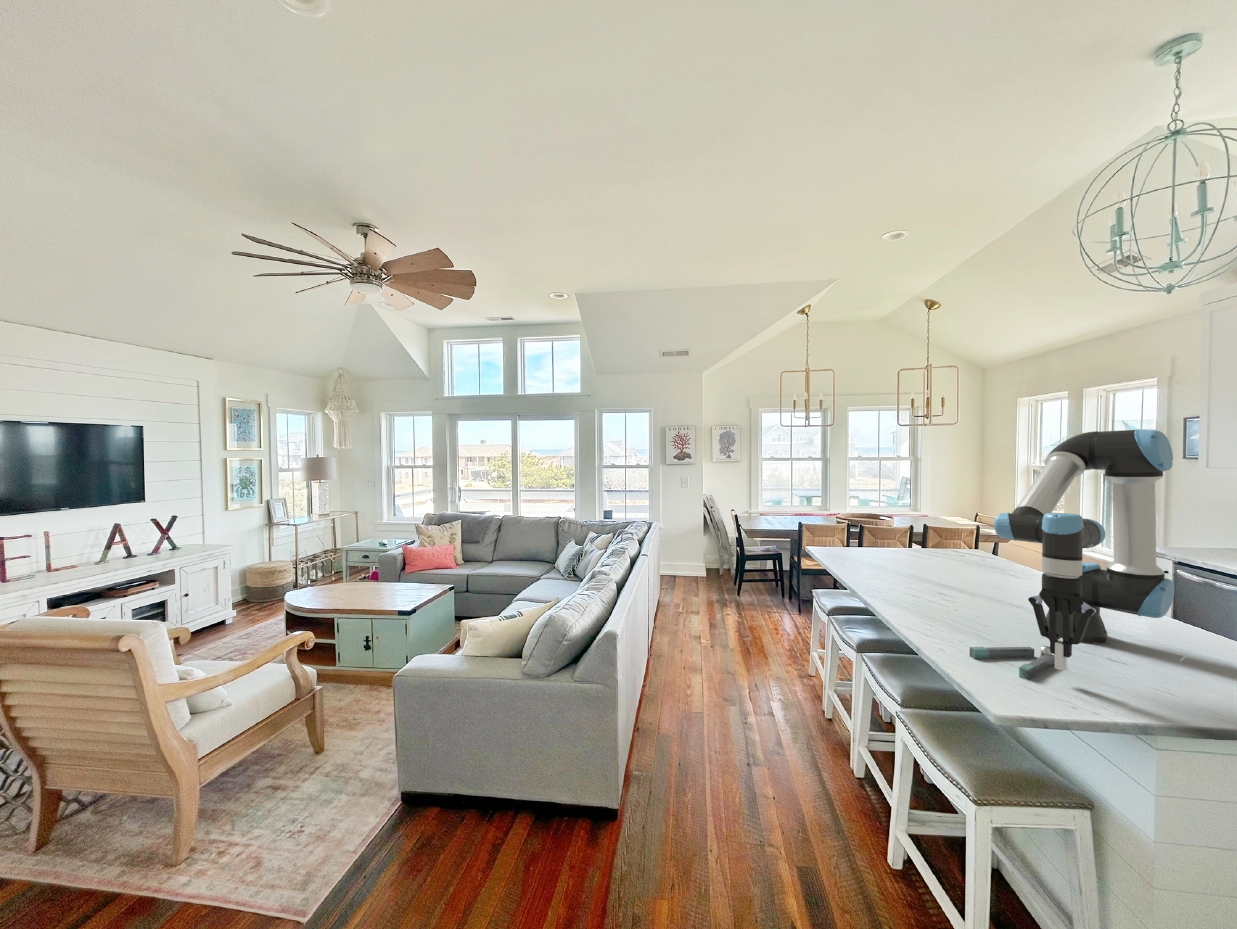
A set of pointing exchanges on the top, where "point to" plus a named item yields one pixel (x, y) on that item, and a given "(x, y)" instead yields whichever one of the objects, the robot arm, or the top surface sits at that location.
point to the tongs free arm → (1036, 666)
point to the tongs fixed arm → (1005, 652)
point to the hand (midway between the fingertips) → (1060, 668)
